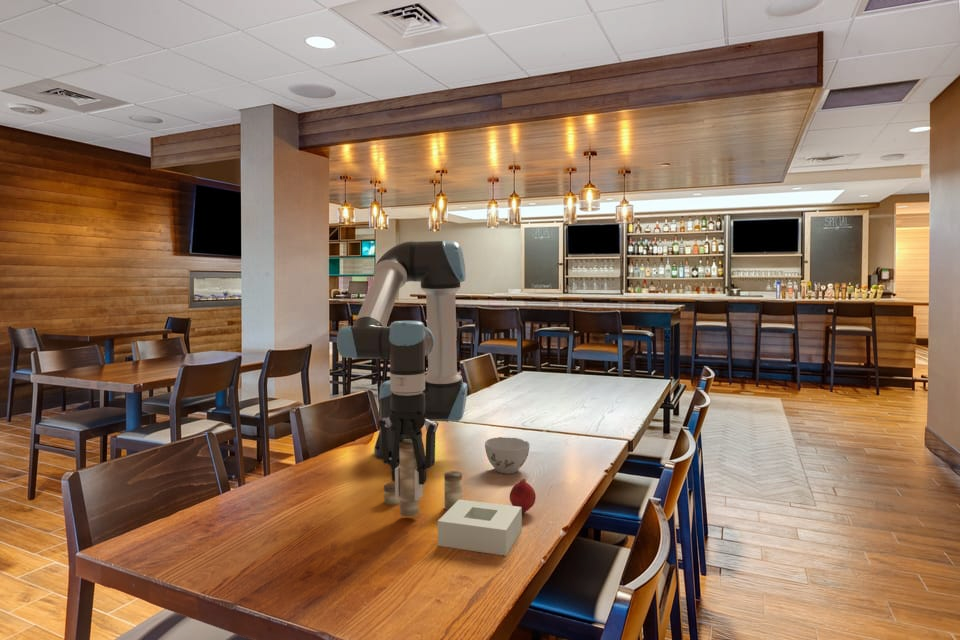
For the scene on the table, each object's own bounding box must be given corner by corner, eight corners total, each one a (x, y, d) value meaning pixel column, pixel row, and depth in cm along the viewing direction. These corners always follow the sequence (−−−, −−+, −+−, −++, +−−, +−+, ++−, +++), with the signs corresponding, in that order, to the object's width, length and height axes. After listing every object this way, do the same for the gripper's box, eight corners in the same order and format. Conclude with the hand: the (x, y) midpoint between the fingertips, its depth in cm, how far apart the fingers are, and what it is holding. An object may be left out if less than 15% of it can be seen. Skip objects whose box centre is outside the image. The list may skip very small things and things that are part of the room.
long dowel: (396, 515, 124) (395, 443, 123) (404, 508, 128) (404, 438, 127) (413, 517, 123) (413, 445, 122) (421, 510, 127) (420, 439, 126)
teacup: (516, 481, 150) (516, 451, 149) (476, 473, 156) (475, 444, 156) (541, 465, 162) (541, 438, 162) (502, 459, 169) (502, 432, 168)
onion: (528, 520, 124) (528, 484, 124) (505, 514, 127) (505, 479, 127) (539, 511, 129) (539, 476, 129) (517, 506, 132) (517, 472, 132)
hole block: (438, 545, 112) (437, 520, 112) (459, 521, 123) (458, 499, 123) (506, 555, 108) (506, 530, 107) (521, 530, 119) (521, 506, 119)
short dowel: (381, 504, 134) (380, 487, 134) (389, 498, 138) (388, 482, 137) (396, 506, 132) (396, 489, 132) (404, 500, 136) (404, 483, 136)
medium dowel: (441, 510, 130) (441, 475, 130) (448, 503, 134) (448, 470, 133) (458, 512, 129) (458, 477, 128) (464, 505, 133) (464, 472, 132)
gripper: (364, 392, 123) (366, 498, 124) (437, 397, 117) (438, 507, 119) (381, 386, 130) (382, 486, 131) (450, 390, 124) (451, 495, 126)
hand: (409, 496), depth 125 cm, fingers closed on long dowel, 4 cm apart
